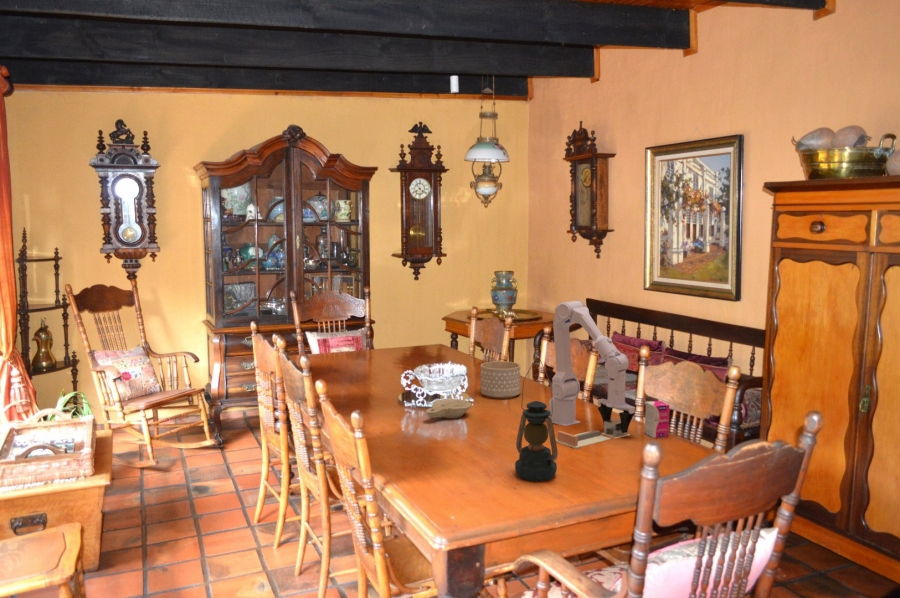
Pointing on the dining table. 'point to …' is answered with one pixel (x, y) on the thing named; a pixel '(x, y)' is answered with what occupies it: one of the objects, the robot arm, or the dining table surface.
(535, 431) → the lantern
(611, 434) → the pad
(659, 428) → the supplement box
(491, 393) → the planter
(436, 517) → the dining table surface
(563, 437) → the rail board
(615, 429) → the clip
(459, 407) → the oil lamp
